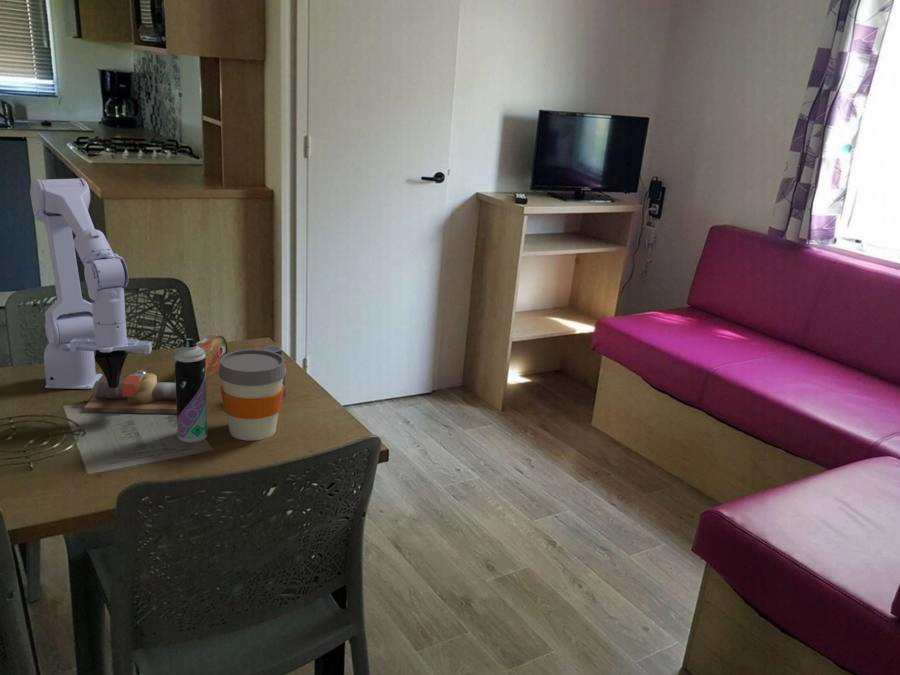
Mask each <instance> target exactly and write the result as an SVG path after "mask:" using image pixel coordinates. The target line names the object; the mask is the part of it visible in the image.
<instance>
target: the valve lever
mask: <svg viewBox="0 0 900 675" xmlns="http://www.w3.org/2000/svg"><path fill="white" fill-rule="evenodd" d="M146 373H147V371H146V370H144V369H139V370H136V371H135V373H134V374H135V376H129V375H127V376H128V377H127V376H126V377H127V378H126V377H125V379H124V382H123V383H122V393H123V396H125V397H135V395H136V394H137V392H138V391H139V389H140V382H141V380H142V379H144V378H146Z"/></svg>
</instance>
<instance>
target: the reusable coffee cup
mask: <svg viewBox="0 0 900 675" xmlns="http://www.w3.org/2000/svg"><path fill="white" fill-rule="evenodd" d="M281 355H282V354H281ZM281 355H280V354H277V353H275V352H272V351H267V350H263V349H253V348H252V349H240V350H235V351H232V352H227V354H226V355H224V356H223V357H222V358H221V360H220V367H219V371H218V376H219V378H220V380H221V386H220V394H221V400H222V406H223V411H224V412H225V413H226V416H227V422H228V431H229V434H230V435H231V436H232V437H233V438H235V439H238V440H242V441H252V442H253V441H260V440H265V439H268V438H271V437H272V436H273V435H274V434H275V433H276V431H277V425H278V424H277V423H278V418H279V412H280V411H281V410H282V404H283V398H284V397H283V391H284V385H283V384H282V383H283V377H284V376H285V373H286V374H287V371H286V372H285V363H284V358H285V357H284V356H283V355H282V356H283V357H284V358H283V357H282V356H281Z"/></svg>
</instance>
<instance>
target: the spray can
mask: <svg viewBox="0 0 900 675" xmlns="http://www.w3.org/2000/svg"><path fill="white" fill-rule="evenodd" d="M196 343H197V342H195V339H194V338H188V337H187V338H184V343H183V344H181V347H179V348H177V349H175V350H174V376H175V377H174V379H175V380H174V381H175V382H174V383H176V406H177V414H176V424H177V426H176V427H177V439H178V440H179V441H181V442H184V443H198V442H202V441H204V440H206V439H207V437H208V403H207V402H208V400H207V379H206V359H205V350H204V349H203V348H200V347H198V345H197V344H196Z"/></svg>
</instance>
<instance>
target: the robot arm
mask: <svg viewBox="0 0 900 675" xmlns="http://www.w3.org/2000/svg"><path fill="white" fill-rule="evenodd" d="M29 193H30V194H29V195H30V200H31V201H30V202H31V206H32V207H31V208H32V213H33V215H34V219H35V220H36V221H40V222H41V223H43V224H44V227H45V232H46V238H47V243H48V249H49V256H50V261H51V263H50V264H51V268H52V275H53V281H54V288H55V293H56V301H54V302H53V303H52V304H51V305H50V306H49V307H48V308H47V309H46V310H45V312H44V318H45V319H44V320H45V323H44V328H45V329H44V330H45V335H46V338H47V341H48V344H47V345H46V347H45V349H44V354H43V365H44V373H45V374H44V376H45V384H46V385H44V388H45V389H67V390H68V389H69V390H70V389H71V390H92V389H94V385H95V382H96V381H100V379H101V378H102V377H103V376H105V379H106V381H107V382H108V385H109V388H117V387H118V385H119V381H120V379H121V374H122V370H123V366H124V364H125V362H126V359H127V357H128V355H129V353H138V354H140V353H143V354H144V355H150V354H151V353H152V351H153V350H152V348H153V346H152V343H153V342H152V341H145V340H139V339H133V338H128V333H127V321H126V320H127V319H126V317H127V316H126V304H125V289H124V288H125V287H127V286H128V284H129V270H128V266H127V264H126V262H125V259H124V258H123V257H122V256H119V254H118V253H115V252H114V251H113V250H112V247H111V245H110V243H109V242H108V240H107V238H106V235H105V234H104V233H103V232H102V231H101V230H100V229H95V226H94V224H93V221H92V218H91V216H90V213H89V212H90V211H89V207H90V203H91V190H90V186H89V184H88V183H87V181H86V180H85V179H84V178H83V177H77V178H53V179H48V178H46V179H40V178H39V179H38V178H34V179H33V180H32V182H31V183H30V191H29ZM73 234H74V235H75V237H74V236H73ZM76 252H77V254H78V256H79V258H80V261H81V262H82V265H83V267H84V268H83V270H84V272H83V273H84V274H83V275H84V278H85V279H84V280H85V284H86V287H87V294H88V297H89V299H91V302H89V301H87V300H86V299H84V298H83V296H82V289H81V288H82V287H81V282H80V275H79V267H78V263H77V254H76ZM96 364H97V365H98V366H99V368H100V369H101V371H102V373H103V374H104V375H103V374H102V373H97V372H96Z"/></svg>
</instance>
